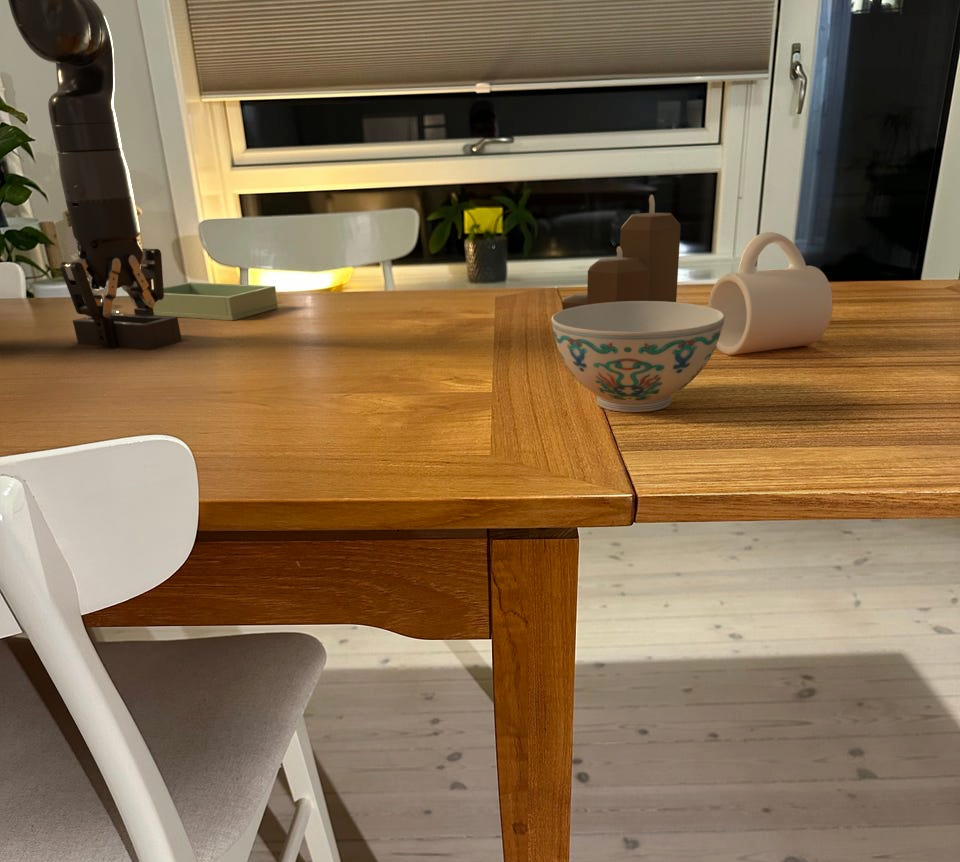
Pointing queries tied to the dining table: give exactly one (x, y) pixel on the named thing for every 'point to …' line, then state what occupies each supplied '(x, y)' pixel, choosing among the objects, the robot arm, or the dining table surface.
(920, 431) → the dining table surface
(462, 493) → the dining table surface
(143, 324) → the dark brown rectangular box
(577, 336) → the chinaware
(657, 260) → the candle
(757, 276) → the mug
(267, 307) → the tray
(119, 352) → the dining table surface
